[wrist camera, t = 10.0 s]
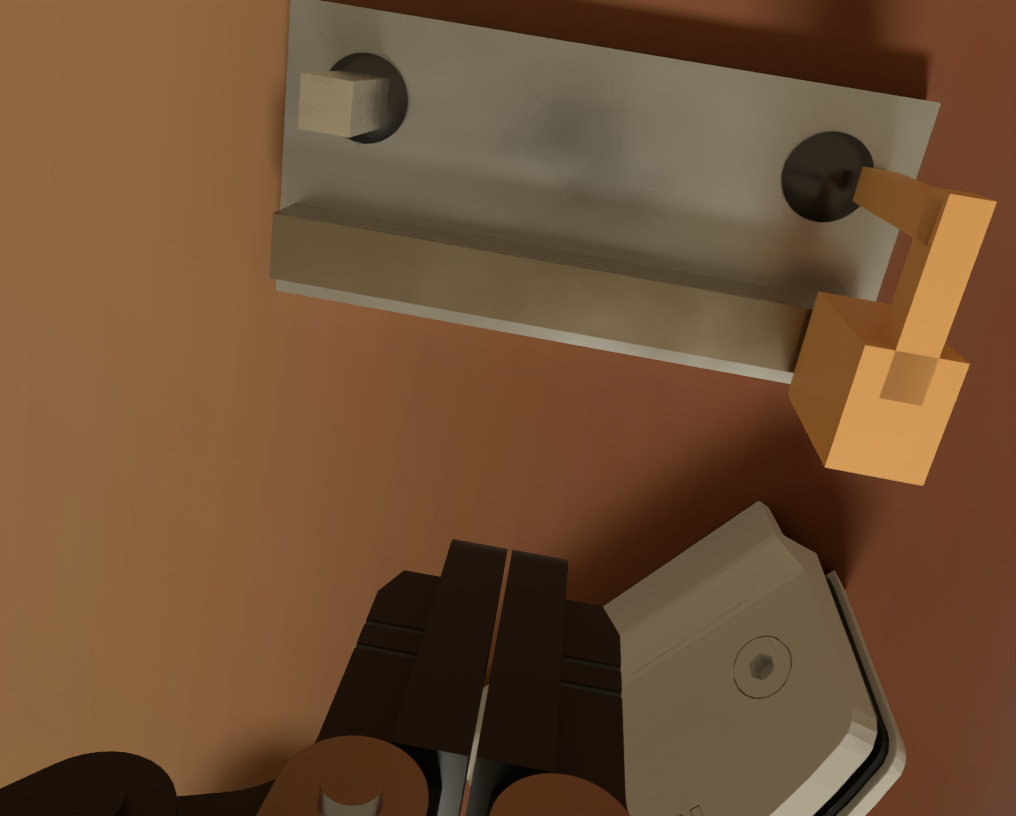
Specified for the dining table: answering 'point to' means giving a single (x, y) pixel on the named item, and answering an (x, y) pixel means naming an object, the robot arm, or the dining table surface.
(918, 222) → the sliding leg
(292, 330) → the dining table surface
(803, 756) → the hinge
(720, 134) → the grey piece
